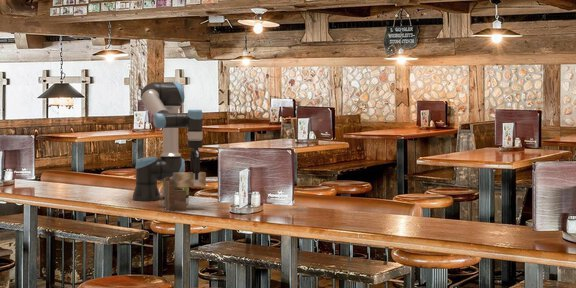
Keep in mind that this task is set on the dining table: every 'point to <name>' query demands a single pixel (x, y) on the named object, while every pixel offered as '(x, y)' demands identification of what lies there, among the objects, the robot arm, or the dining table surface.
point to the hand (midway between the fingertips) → (195, 185)
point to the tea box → (175, 187)
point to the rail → (188, 179)
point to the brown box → (174, 196)
